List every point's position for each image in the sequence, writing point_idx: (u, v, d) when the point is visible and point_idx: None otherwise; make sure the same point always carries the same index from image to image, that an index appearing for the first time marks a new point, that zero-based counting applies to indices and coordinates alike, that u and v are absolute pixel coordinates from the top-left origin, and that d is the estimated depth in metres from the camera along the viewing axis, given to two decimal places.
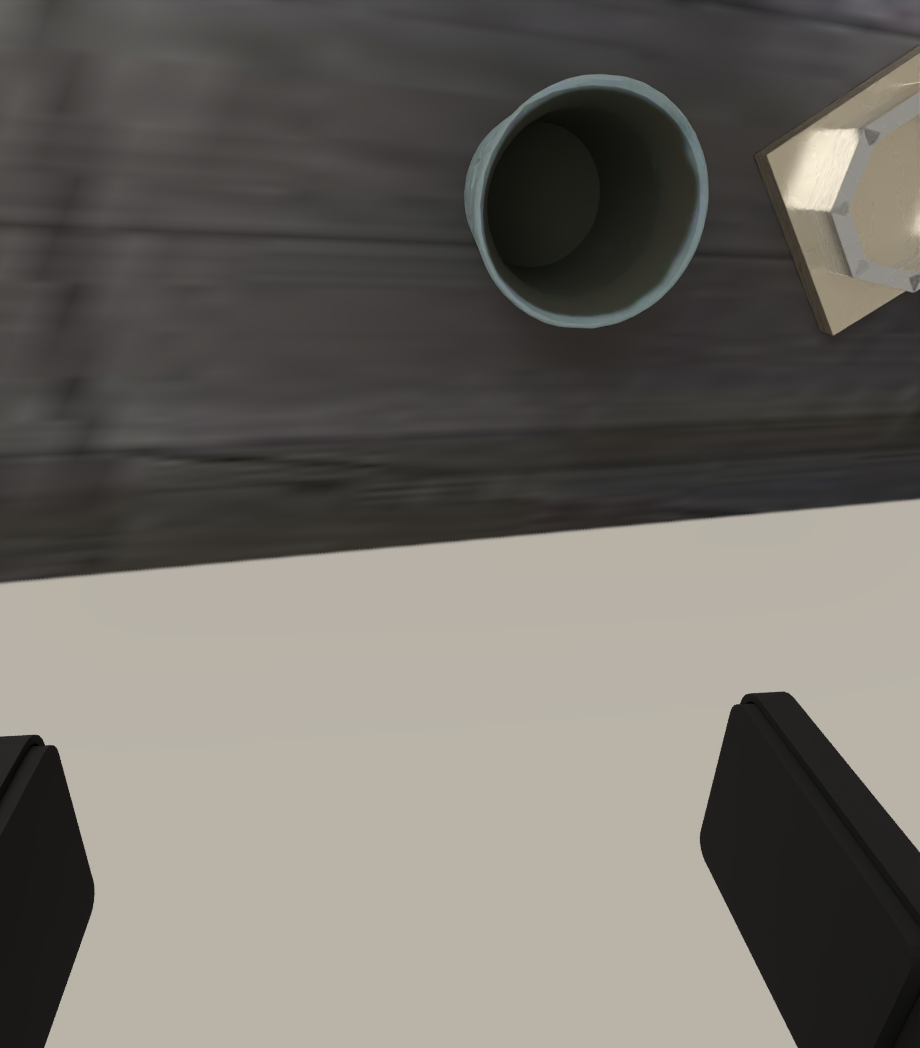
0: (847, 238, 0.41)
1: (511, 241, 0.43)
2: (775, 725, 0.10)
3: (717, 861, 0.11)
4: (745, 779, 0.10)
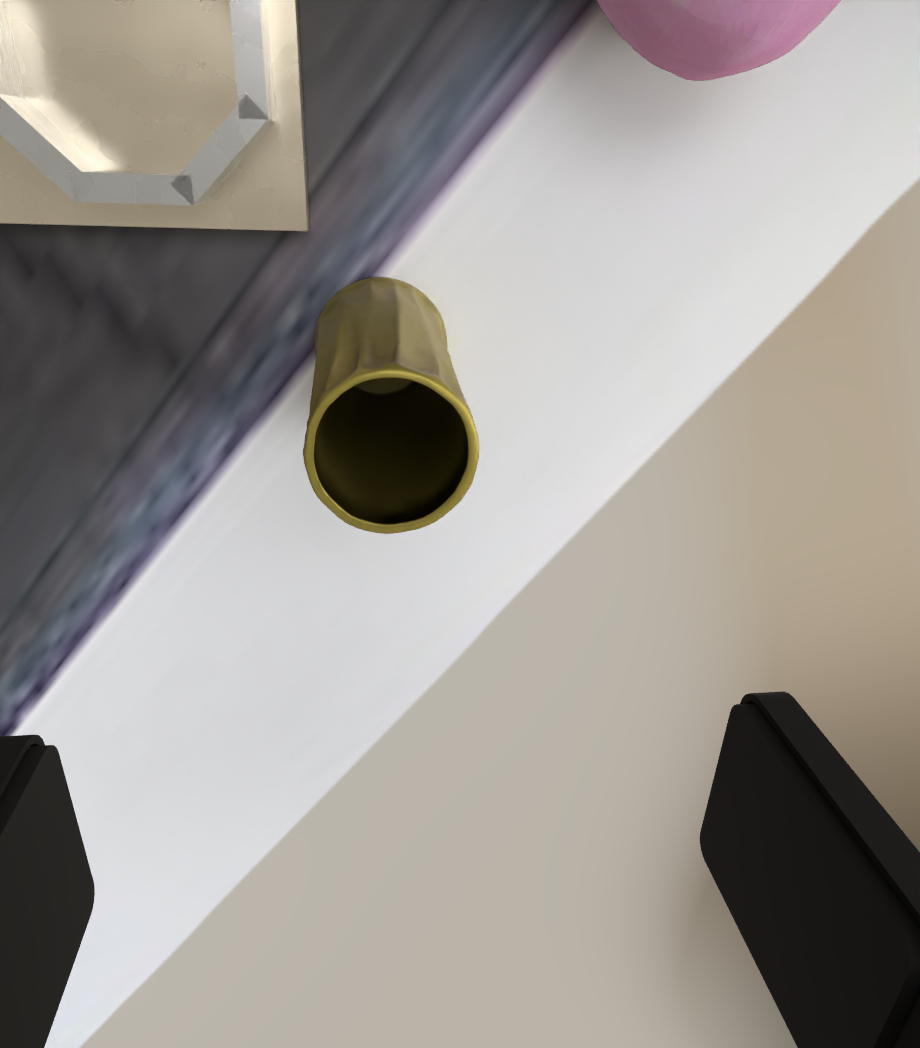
0: None
1: None
2: (775, 725, 0.10)
3: (717, 861, 0.11)
4: (745, 779, 0.10)
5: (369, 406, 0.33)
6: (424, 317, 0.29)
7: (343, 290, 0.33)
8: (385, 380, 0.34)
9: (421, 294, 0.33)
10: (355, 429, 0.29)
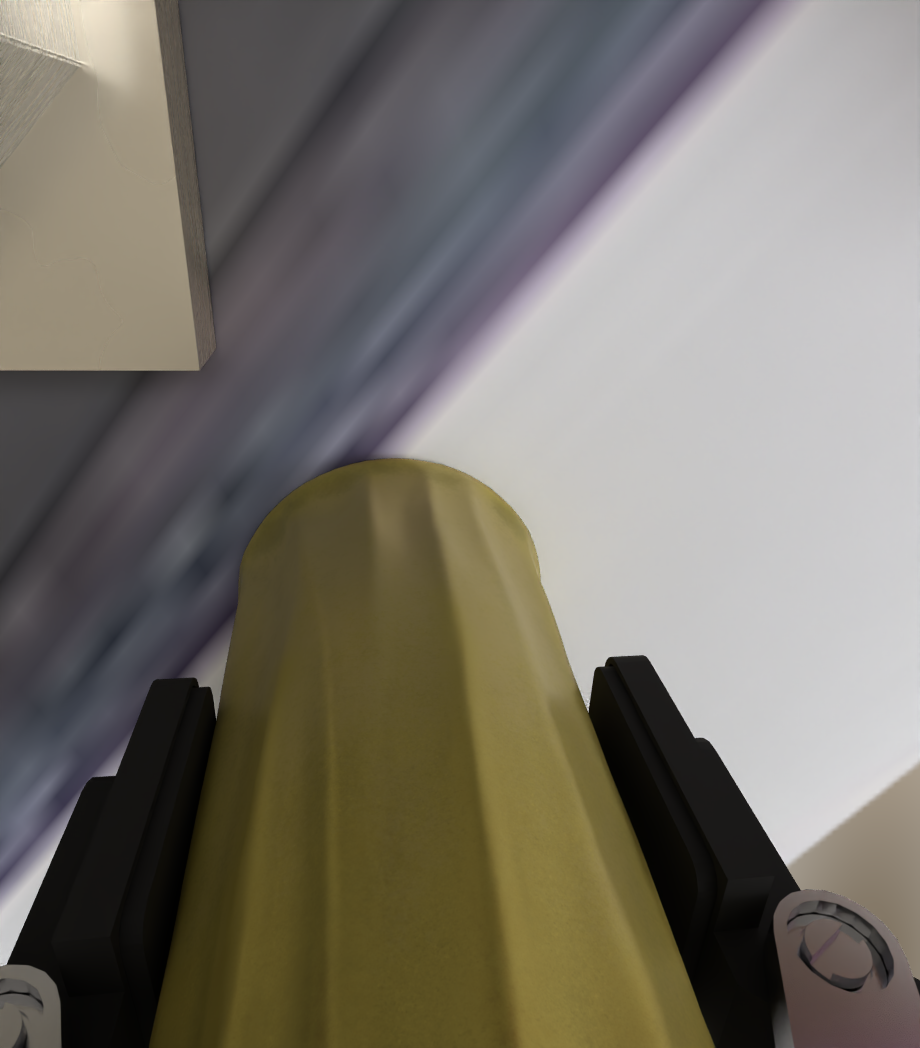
0: None
1: None
2: (626, 684, 0.10)
3: None
4: (603, 736, 0.11)
5: None
6: (525, 633, 0.10)
7: (301, 493, 0.13)
8: None
9: (489, 495, 0.14)
10: None
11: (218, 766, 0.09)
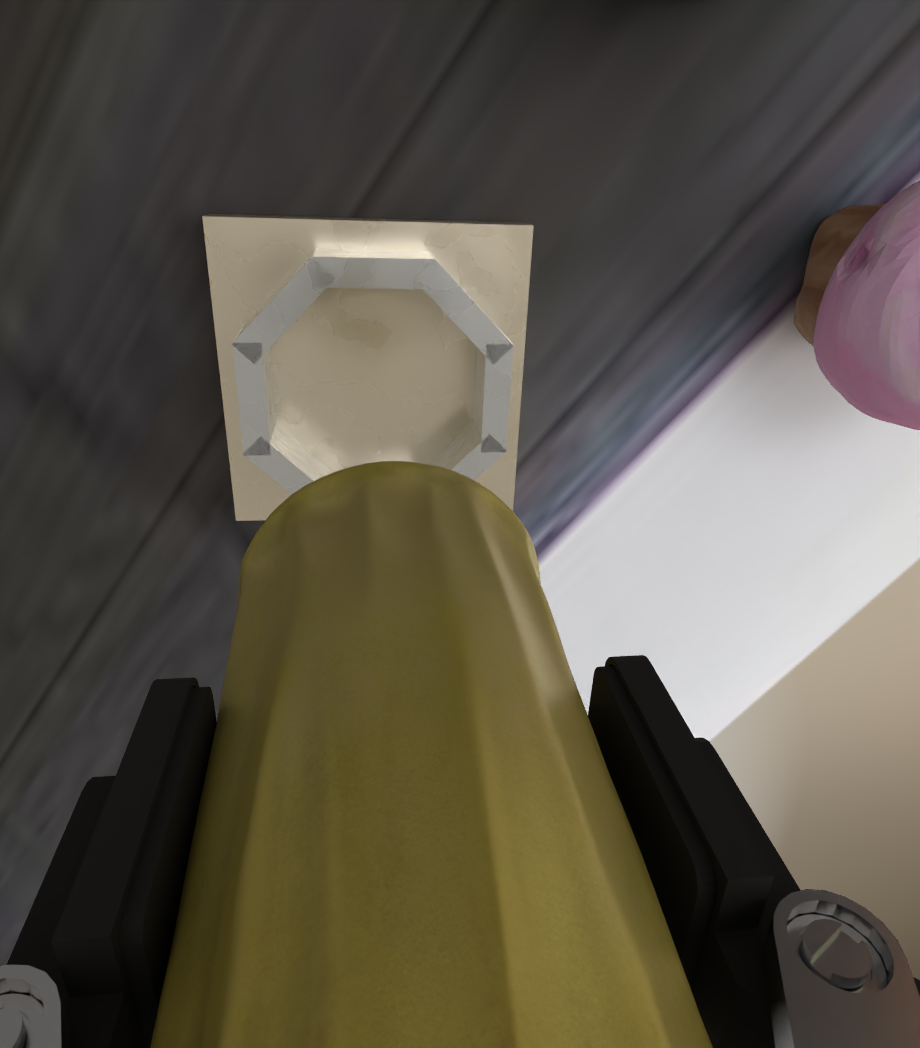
0: (379, 270, 0.25)
1: None
2: (626, 684, 0.10)
3: None
4: (603, 736, 0.11)
5: None
6: (525, 636, 0.10)
7: (301, 495, 0.13)
8: None
9: (489, 497, 0.14)
10: None
11: (218, 769, 0.09)
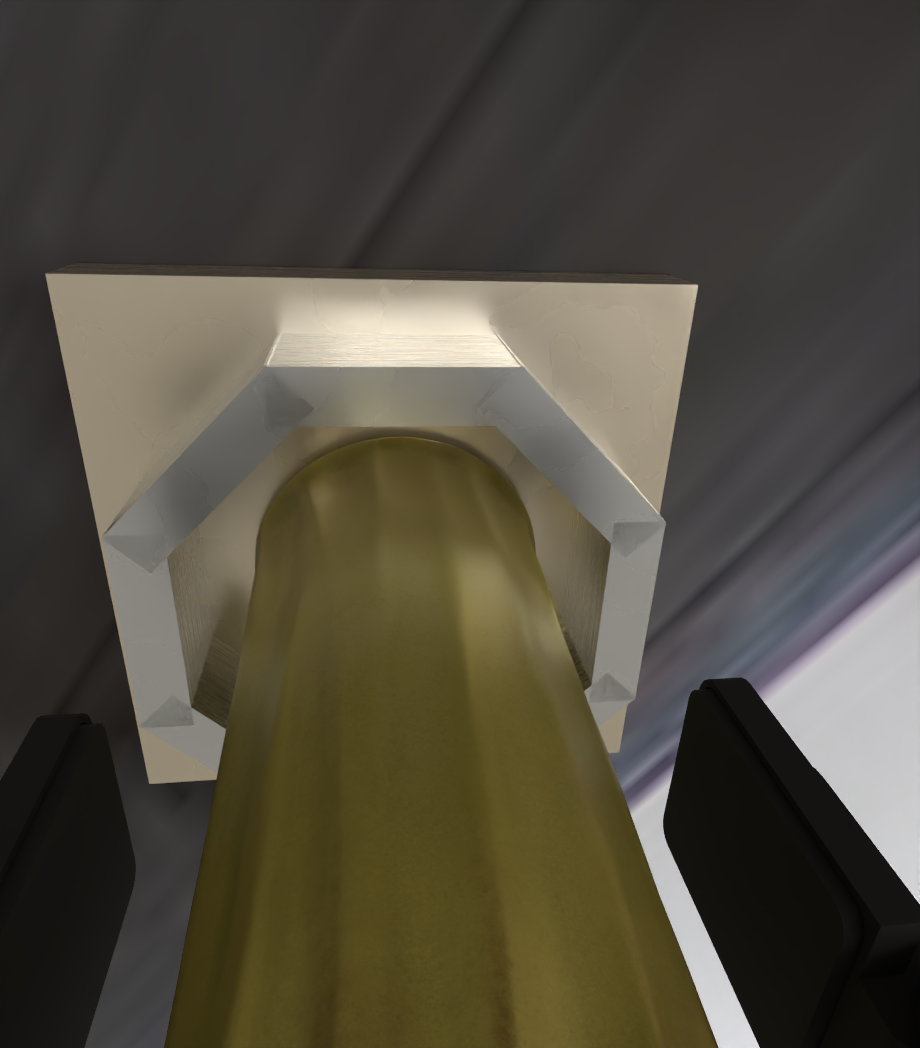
0: (407, 390, 0.12)
1: None
2: (730, 709, 0.10)
3: (678, 844, 0.11)
4: (702, 762, 0.10)
5: None
6: (516, 589, 0.11)
7: (313, 469, 0.14)
8: None
9: (487, 471, 0.15)
10: None
11: (242, 703, 0.10)
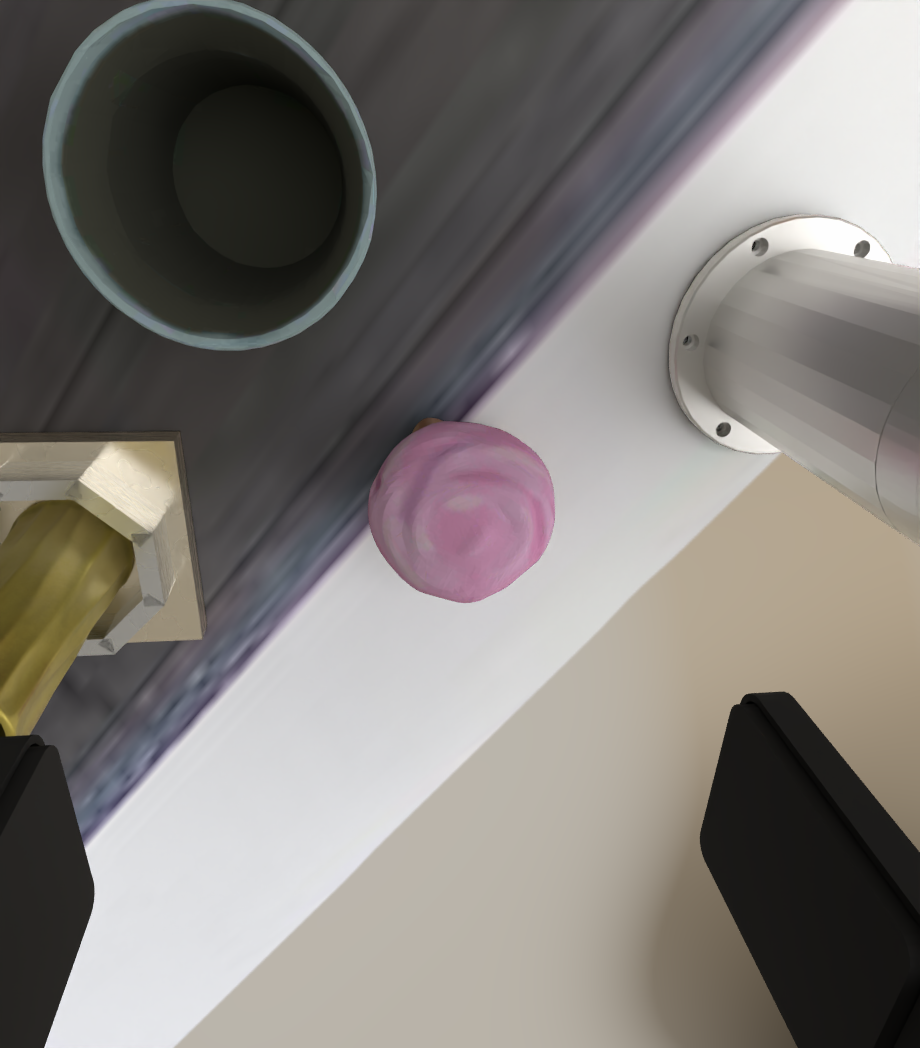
0: (36, 488, 0.35)
1: (225, 121, 0.32)
2: (775, 725, 0.10)
3: (717, 861, 0.11)
4: (745, 779, 0.10)
5: None
6: (65, 555, 0.34)
7: (24, 512, 0.37)
8: None
9: None
10: None
11: None
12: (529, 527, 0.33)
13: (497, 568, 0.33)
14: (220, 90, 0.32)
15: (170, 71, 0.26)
